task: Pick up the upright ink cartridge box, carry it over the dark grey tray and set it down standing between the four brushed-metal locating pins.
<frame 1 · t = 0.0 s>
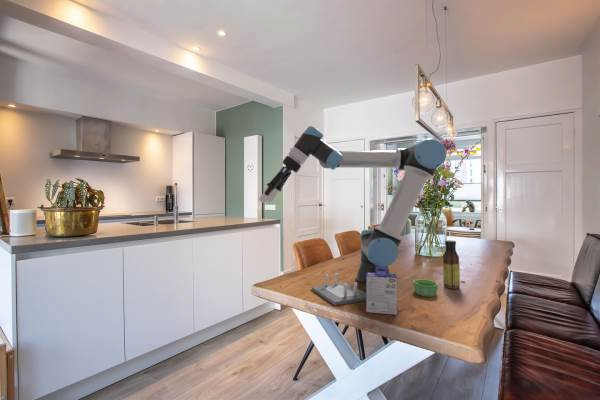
hand: (264, 201, 120), 36 cm above the table, fingers open, 13 cm apart
sauce bottle: (451, 287, 121), on the table
ramekin: (425, 293, 113), on the table
pin tray: (340, 294, 111), on the table
ink cartridge box: (381, 311, 95), on the table
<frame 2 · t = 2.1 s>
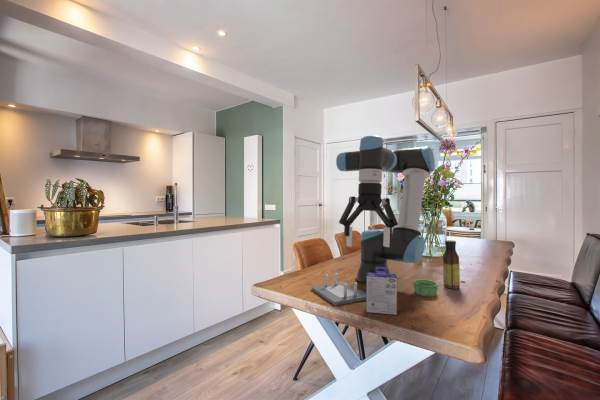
hand: (367, 246, 95), 22 cm above the table, fingers open, 13 cm apart
nothing on the table moved.
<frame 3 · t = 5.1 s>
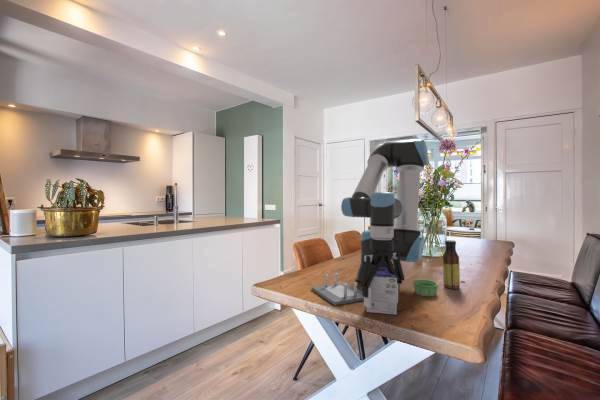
hand: (381, 304, 95), 2 cm above the table, fingers closed on ink cartridge box, 11 cm apart
ink cartridge box: (381, 311, 95), on the table, touching gripper
everything else where it was.
when the fingers open (5 cm above the table, at t = 11.9 s): ink cartridge box drops 1 cm, resting on pin tray.
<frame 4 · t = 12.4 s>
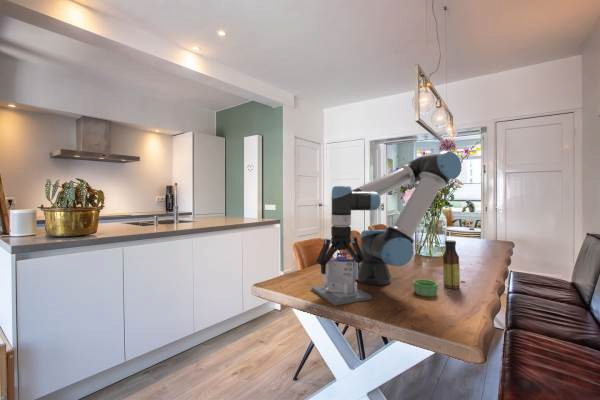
hand: (340, 280, 111), 6 cm above the table, fingers open, 13 cm apart
ink cartridge box: (341, 291, 111), point 1 cm above the table, touching pin tray
everything else where it was.
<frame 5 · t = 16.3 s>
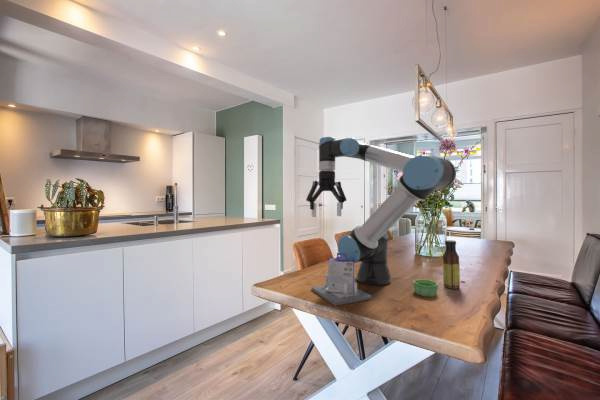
hand: (326, 216, 133), 29 cm above the table, fingers open, 13 cm apart
nothing on the table moved.
at the end: ink cartridge box 0.4 cm off-centre on the pin tray, point 1.1 cm above the pin tray's base; ink cartridge box tilted 0°; the gripper is holding nothing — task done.
